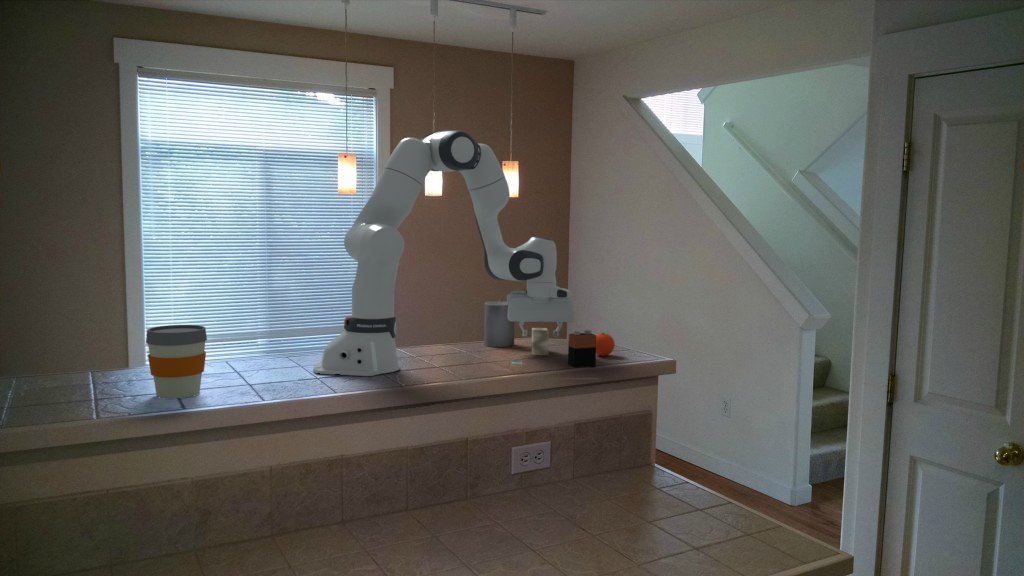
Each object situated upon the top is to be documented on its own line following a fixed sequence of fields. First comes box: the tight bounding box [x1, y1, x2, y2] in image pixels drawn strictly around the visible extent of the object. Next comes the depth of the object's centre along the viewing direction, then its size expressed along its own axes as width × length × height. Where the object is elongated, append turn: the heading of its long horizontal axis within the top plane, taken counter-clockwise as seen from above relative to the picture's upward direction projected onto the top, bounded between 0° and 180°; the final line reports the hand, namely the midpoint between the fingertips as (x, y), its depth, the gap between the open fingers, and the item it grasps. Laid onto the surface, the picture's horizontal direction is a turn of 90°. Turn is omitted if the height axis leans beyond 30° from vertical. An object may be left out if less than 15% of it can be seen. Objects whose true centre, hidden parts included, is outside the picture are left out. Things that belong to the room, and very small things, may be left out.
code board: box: [510, 359, 523, 365], centre depth 214 cm, size 13×12×1 cm
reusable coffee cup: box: [145, 324, 208, 400], centre depth 171 cm, size 13×13×15 cm
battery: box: [567, 329, 597, 368], centre depth 211 cm, size 4×7×10 cm, turn 113°
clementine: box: [595, 331, 616, 357], centre depth 228 cm, size 8×7×7 cm
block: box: [530, 327, 550, 356], centre depth 229 cm, size 4×8×7 cm, turn 3°
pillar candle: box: [483, 299, 515, 348], centre depth 243 cm, size 10×10×15 cm
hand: (540, 336), depth 229 cm, fingers open, 8 cm apart
